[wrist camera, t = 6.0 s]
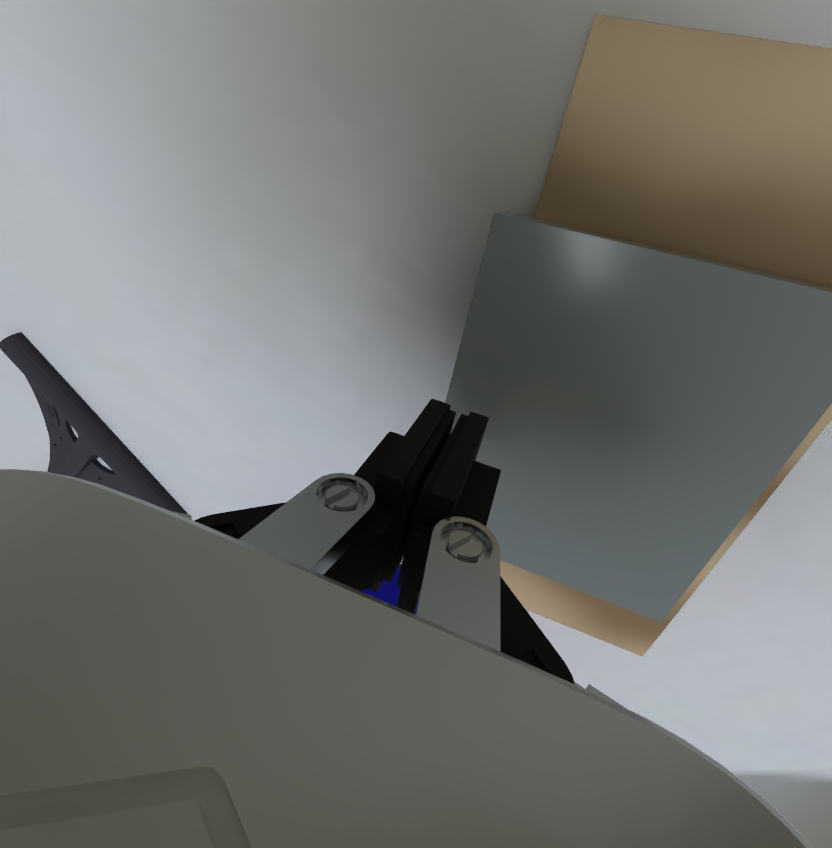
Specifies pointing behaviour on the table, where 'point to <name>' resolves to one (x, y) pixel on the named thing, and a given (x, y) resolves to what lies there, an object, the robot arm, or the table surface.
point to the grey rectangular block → (632, 402)
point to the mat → (691, 198)
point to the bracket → (82, 432)
